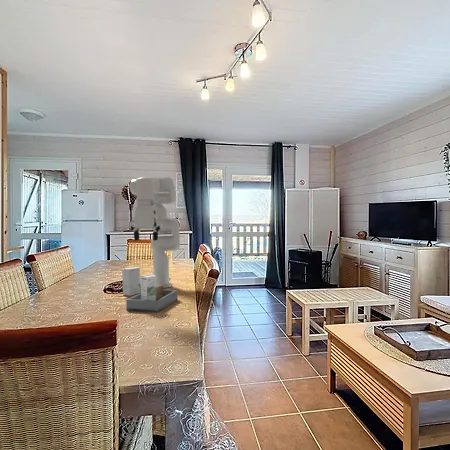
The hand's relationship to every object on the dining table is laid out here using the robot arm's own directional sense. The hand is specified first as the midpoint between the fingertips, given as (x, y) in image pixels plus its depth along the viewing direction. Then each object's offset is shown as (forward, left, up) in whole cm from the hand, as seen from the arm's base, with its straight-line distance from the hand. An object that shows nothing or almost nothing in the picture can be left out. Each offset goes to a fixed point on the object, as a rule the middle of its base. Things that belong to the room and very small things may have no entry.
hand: (146, 240), depth 152 cm
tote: (-6, 0, -32) cm, 33 cm away
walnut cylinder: (-11, 0, -31) cm, 33 cm away
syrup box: (0, 0, -32) cm, 32 cm away
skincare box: (-24, -23, -32) cm, 46 cm away
